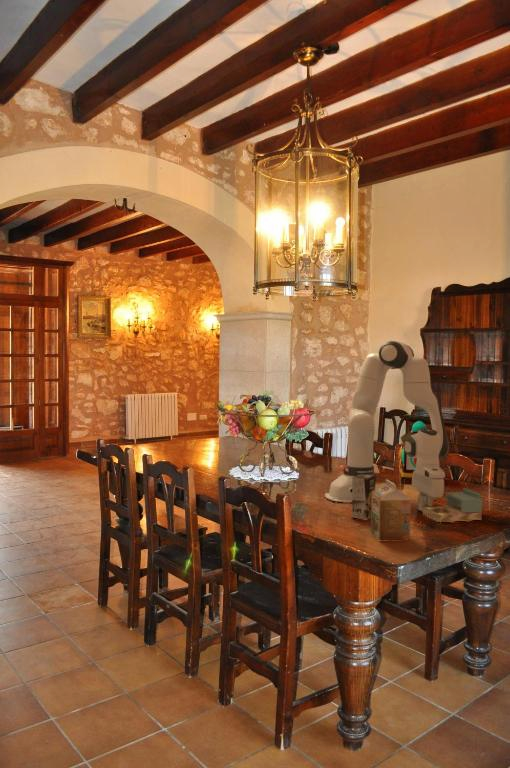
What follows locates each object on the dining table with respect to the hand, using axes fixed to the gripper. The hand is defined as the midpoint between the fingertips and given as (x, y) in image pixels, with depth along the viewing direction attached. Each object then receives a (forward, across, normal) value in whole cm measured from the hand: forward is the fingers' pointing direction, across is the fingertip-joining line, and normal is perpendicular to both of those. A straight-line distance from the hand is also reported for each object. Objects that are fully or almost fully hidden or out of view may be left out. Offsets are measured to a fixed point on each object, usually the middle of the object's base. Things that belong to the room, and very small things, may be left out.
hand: (426, 503), depth 245 cm
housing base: (+3, +11, +5) cm, 12 cm away
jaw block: (+2, 0, -1) cm, 3 cm away
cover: (-1, +11, +10) cm, 15 cm away
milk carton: (+3, +29, -28) cm, 41 cm away
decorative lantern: (+3, -54, +23) cm, 59 cm away
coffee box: (+4, +4, -28) cm, 29 cm away
